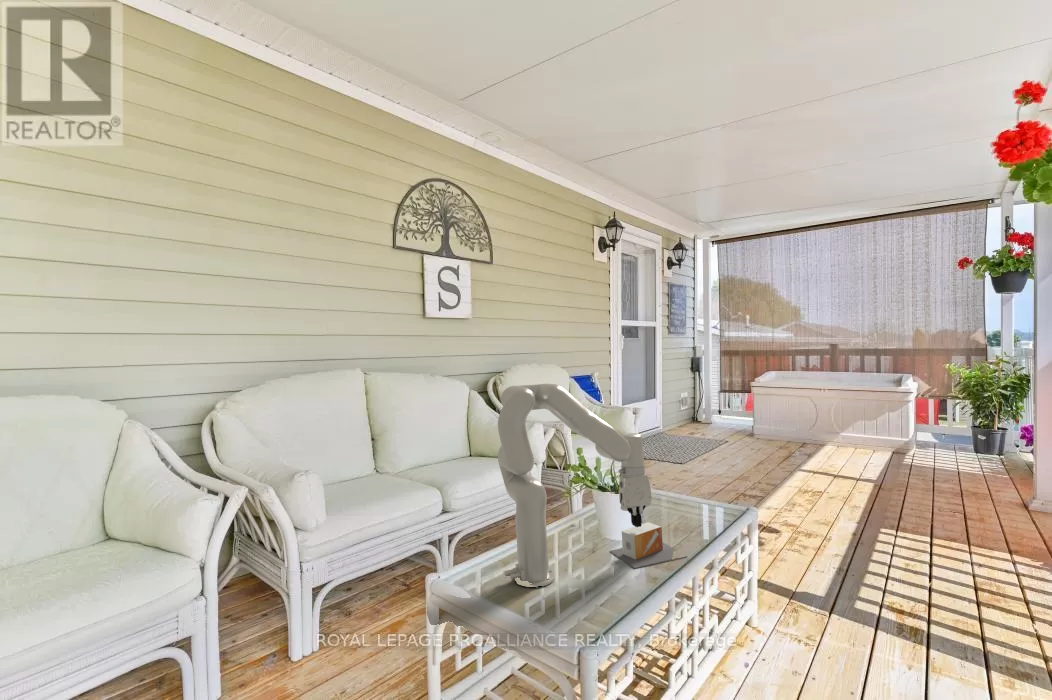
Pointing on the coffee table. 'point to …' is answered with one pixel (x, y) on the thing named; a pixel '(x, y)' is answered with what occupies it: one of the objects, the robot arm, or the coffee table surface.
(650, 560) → the mat
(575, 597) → the coffee table surface
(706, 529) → the coffee table surface
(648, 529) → the small box
